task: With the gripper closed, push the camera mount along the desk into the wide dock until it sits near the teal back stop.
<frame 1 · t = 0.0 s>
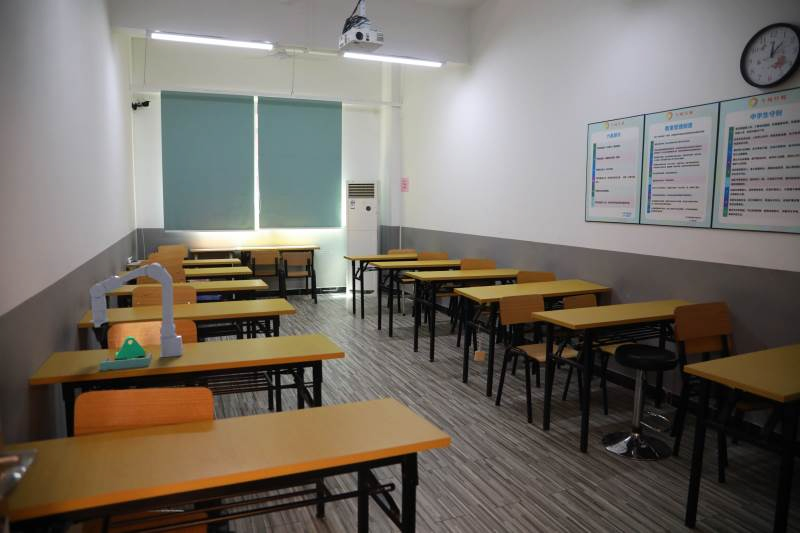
hand: (101, 339, 244), 10 cm above the table, tool pointing down, fingers open, 7 cm apart
camera mount: (131, 358, 252), on the table
dock: (127, 363, 240), on the table
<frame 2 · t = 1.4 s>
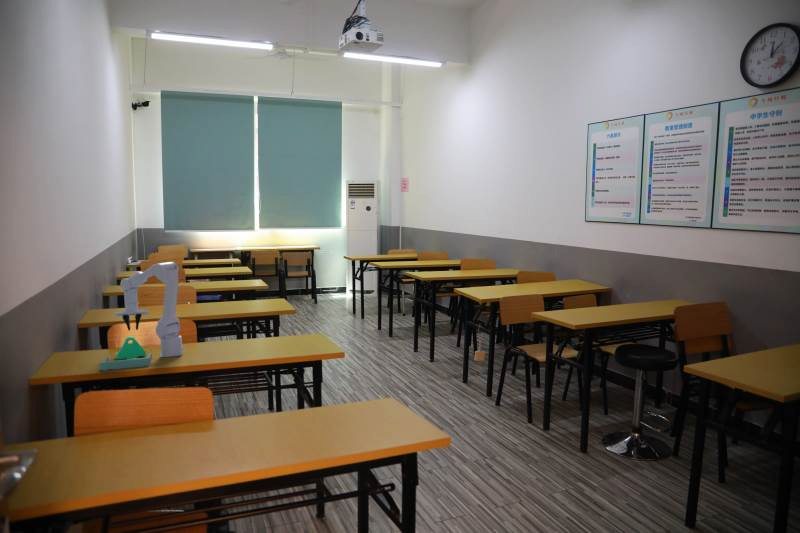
hand: (133, 329, 263), 10 cm above the table, tool pointing down, fingers open, 3 cm apart
nothing on the table moved.
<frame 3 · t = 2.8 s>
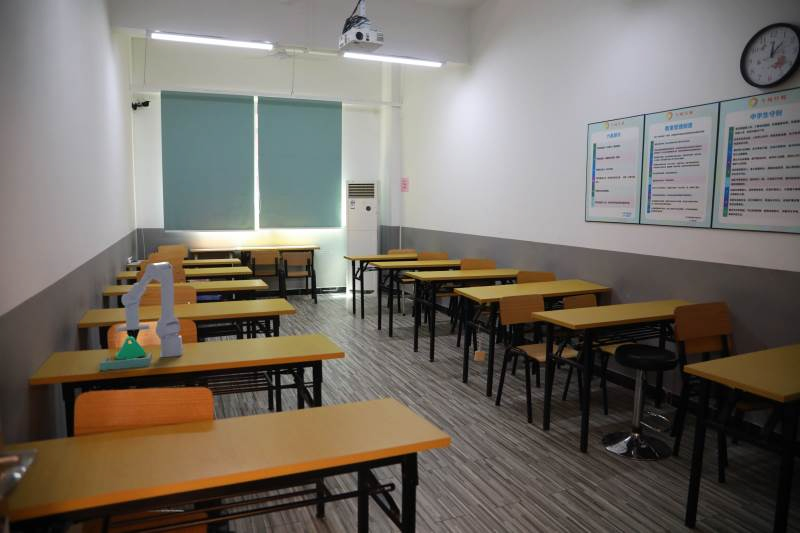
hand: (134, 344, 263), 3 cm above the table, tool pointing down, fingers closed
nothing on the table moved.
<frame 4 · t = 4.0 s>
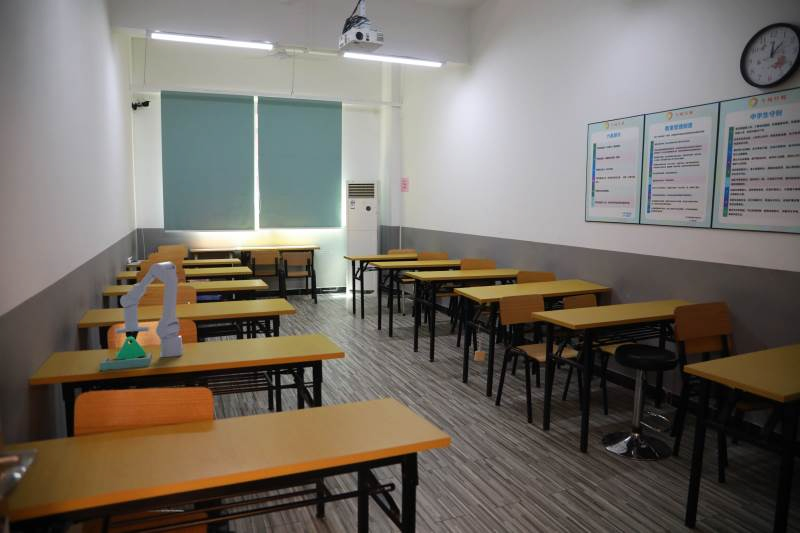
hand: (133, 346, 259), 3 cm above the table, tool pointing down, fingers closed
nothing on the table moved.
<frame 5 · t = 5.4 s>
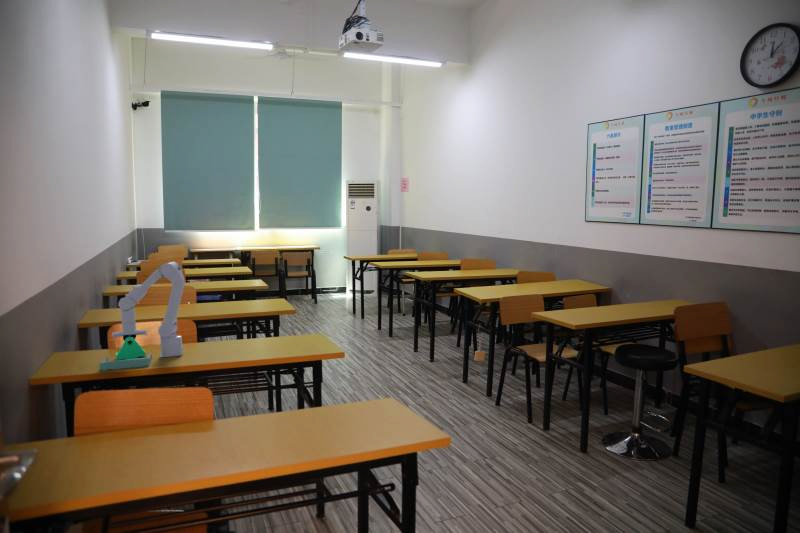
hand: (130, 350, 252), 3 cm above the table, tool pointing down, fingers closed, pressing on camera mount
camera mount: (131, 358, 250), on the table, touching gripper
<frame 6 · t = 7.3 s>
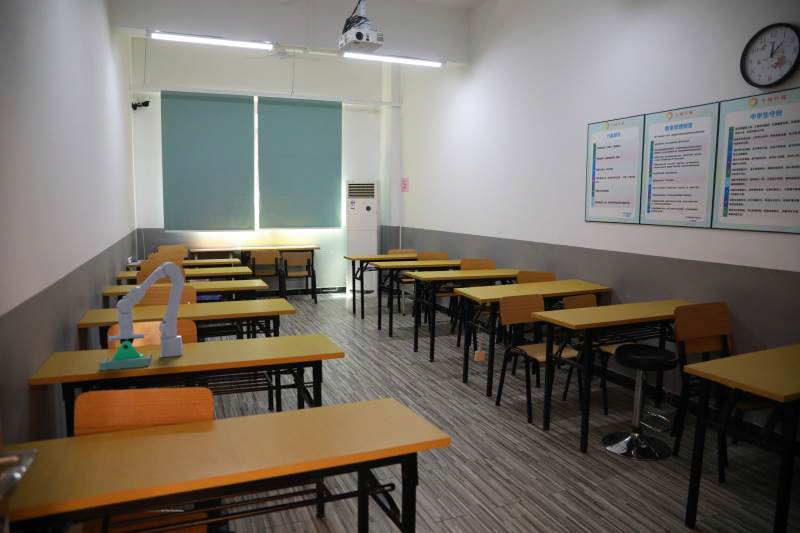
hand: (128, 355, 244), 3 cm above the table, tool pointing down, fingers closed, pressing on camera mount
camera mount: (128, 363, 242), on the table, touching gripper
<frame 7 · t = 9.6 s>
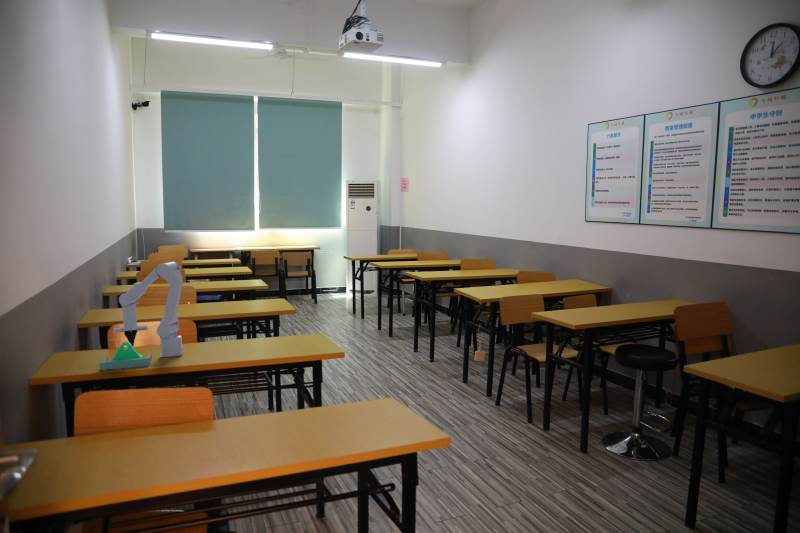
hand: (132, 346, 256), 4 cm above the table, tool pointing down, fingers closed
camera mount: (128, 363, 242), on the table
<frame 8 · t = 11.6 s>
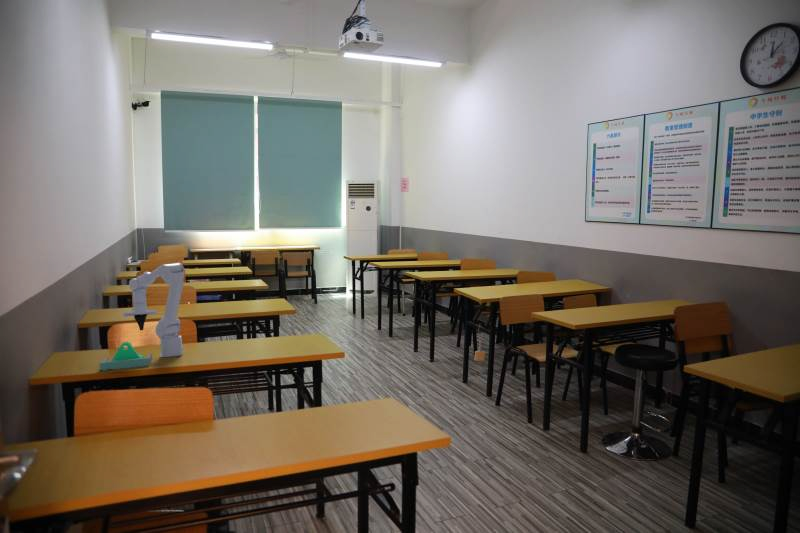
hand: (141, 329, 262), 10 cm above the table, tool pointing down, fingers closed
nothing on the table moved.
at the end: camera mount inside the target area (0.4 cm from its centre), on the table; camera mount tilted 0°; camera mount moved 10.9 cm from its start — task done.
